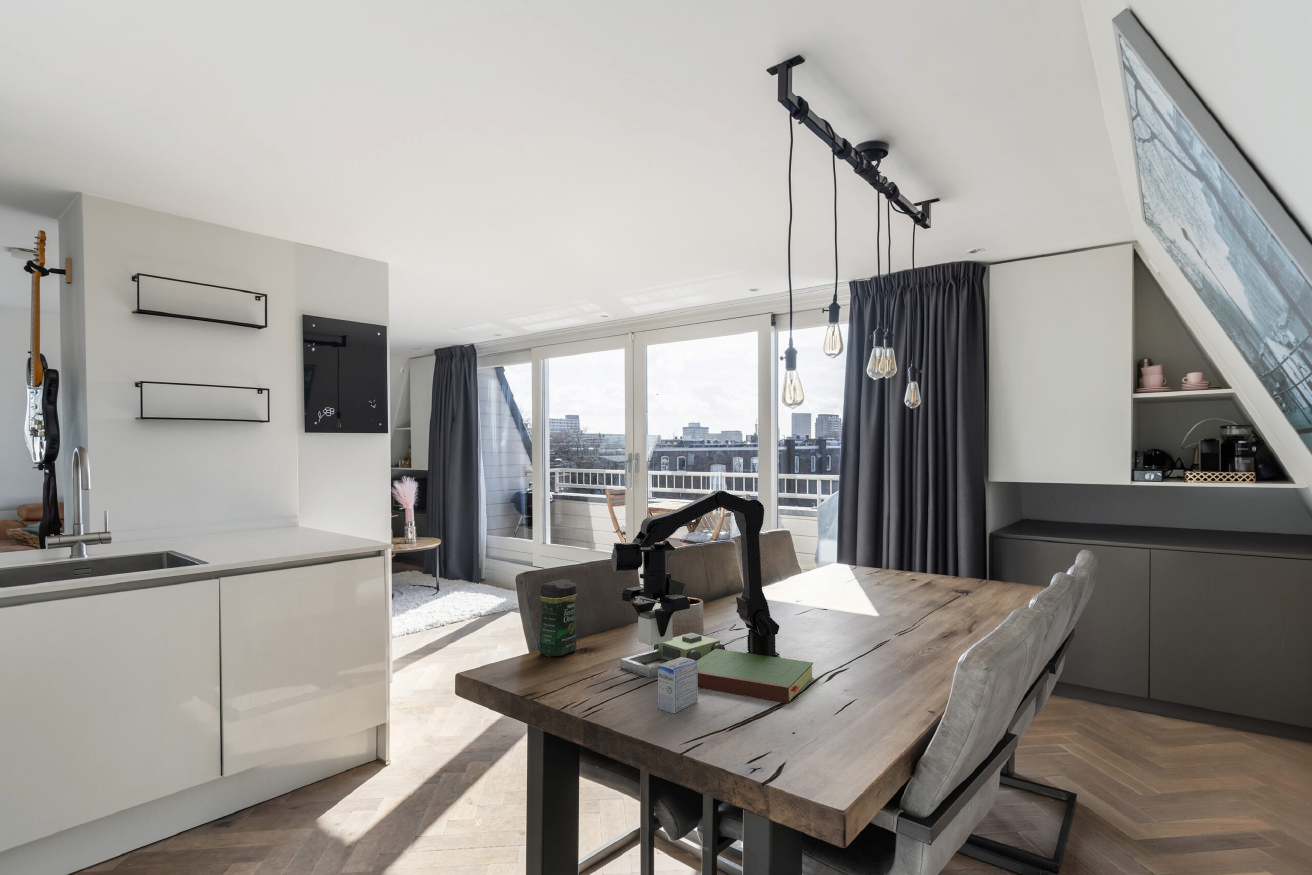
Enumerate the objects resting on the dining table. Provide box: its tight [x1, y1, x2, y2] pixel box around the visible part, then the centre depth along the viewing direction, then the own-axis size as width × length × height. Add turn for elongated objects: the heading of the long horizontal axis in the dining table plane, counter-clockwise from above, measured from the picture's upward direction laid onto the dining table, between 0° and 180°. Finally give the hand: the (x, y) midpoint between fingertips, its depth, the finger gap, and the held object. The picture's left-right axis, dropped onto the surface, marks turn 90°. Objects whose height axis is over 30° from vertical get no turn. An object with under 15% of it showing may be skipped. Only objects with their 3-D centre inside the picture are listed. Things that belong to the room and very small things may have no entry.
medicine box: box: [657, 657, 699, 714], centre depth 134 cm, size 8×4×9 cm, turn 141°
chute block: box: [637, 609, 672, 646], centre depth 159 cm, size 4×7×7 cm, turn 132°
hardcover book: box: [697, 649, 814, 704], centre depth 148 cm, size 25×19×4 cm
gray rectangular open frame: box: [620, 649, 669, 679], centre depth 159 cm, size 10×12×2 cm
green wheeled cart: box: [653, 633, 726, 662], centre depth 167 cm, size 13×12×5 cm
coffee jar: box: [538, 578, 577, 658], centre depth 172 cm, size 10×8×19 cm
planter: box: [672, 596, 705, 638], centre depth 188 cm, size 11×11×10 cm
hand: (655, 634), depth 159 cm, fingers closed on chute block, 4 cm apart
